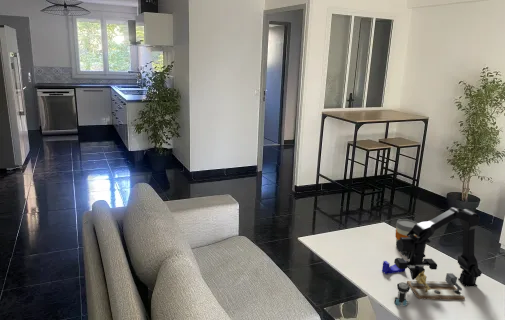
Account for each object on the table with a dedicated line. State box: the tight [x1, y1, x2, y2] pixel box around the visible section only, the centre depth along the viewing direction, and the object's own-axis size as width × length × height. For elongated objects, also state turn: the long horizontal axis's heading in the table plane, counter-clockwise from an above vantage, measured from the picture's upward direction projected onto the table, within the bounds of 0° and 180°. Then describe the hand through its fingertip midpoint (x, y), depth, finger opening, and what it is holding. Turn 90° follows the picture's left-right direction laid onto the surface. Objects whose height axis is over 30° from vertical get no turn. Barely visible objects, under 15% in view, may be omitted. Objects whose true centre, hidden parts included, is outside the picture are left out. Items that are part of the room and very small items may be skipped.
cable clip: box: [381, 260, 406, 275], centre depth 201 cm, size 12×4×6 cm, turn 107°
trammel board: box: [406, 280, 466, 301], centre depth 185 cm, size 22×13×3 cm, turn 93°
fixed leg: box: [444, 272, 463, 293], centre depth 185 cm, size 3×10×5 cm, turn 3°
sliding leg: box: [415, 270, 430, 292], centre depth 183 cm, size 3×10×7 cm, turn 3°
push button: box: [394, 282, 411, 307], centre depth 173 cm, size 7×5×10 cm
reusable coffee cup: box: [395, 218, 419, 243], centre depth 228 cm, size 13×13×15 cm
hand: (412, 279), depth 187 cm, fingers closed
